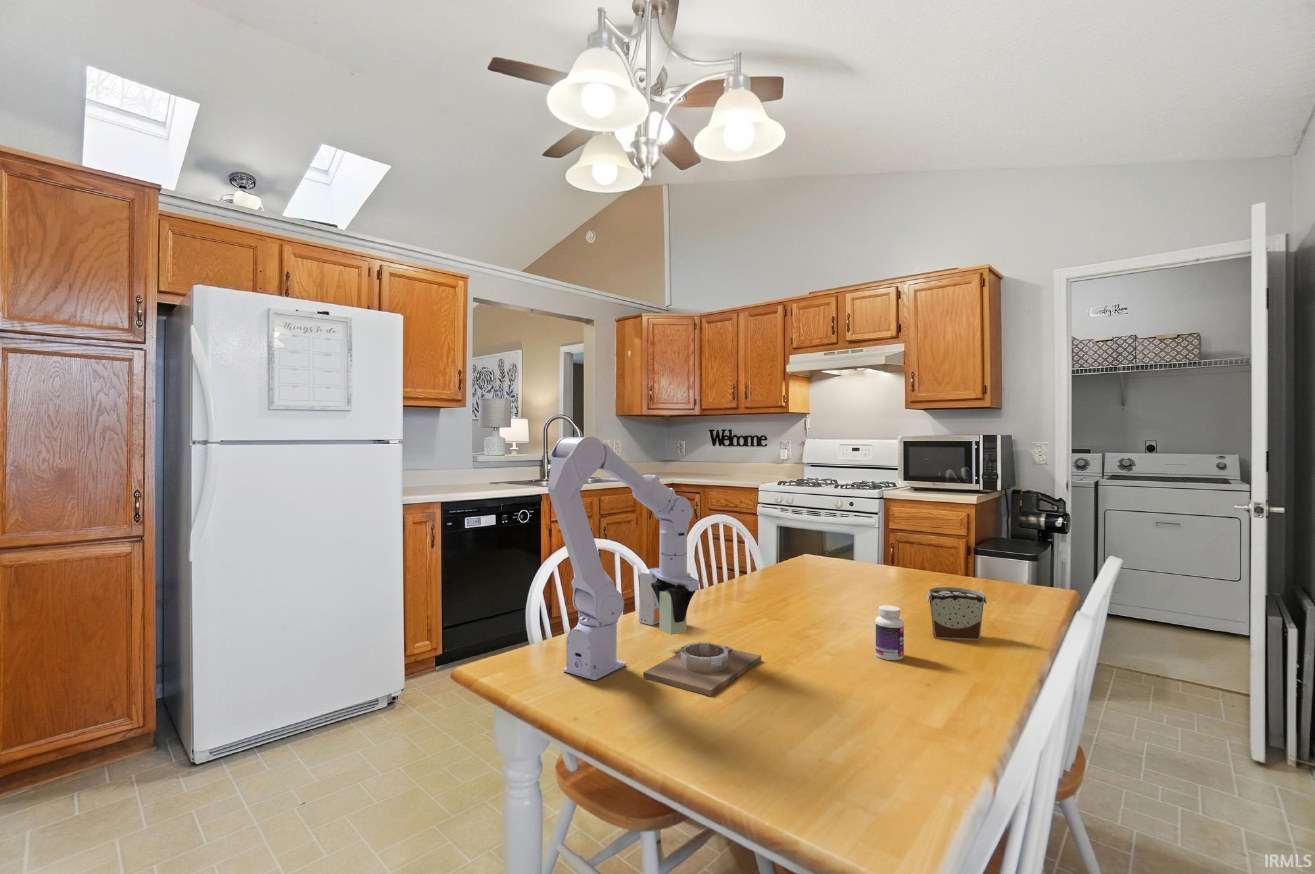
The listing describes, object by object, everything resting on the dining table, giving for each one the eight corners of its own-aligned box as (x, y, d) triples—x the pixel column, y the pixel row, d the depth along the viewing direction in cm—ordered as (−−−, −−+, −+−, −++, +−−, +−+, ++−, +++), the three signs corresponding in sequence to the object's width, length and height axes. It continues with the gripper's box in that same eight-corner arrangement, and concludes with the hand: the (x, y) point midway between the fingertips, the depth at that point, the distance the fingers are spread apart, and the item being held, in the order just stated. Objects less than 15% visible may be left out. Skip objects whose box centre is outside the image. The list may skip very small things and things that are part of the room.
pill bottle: (906, 662, 118) (906, 612, 118) (877, 660, 119) (877, 610, 119) (901, 652, 124) (901, 604, 124) (873, 650, 125) (873, 603, 125)
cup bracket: (710, 696, 102) (710, 675, 102) (643, 677, 110) (643, 658, 110) (761, 660, 119) (761, 642, 119) (699, 646, 127) (699, 629, 127)
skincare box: (652, 626, 141) (653, 574, 141) (638, 622, 143) (638, 572, 143) (668, 620, 146) (668, 570, 146) (654, 616, 148) (654, 567, 148)
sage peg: (686, 631, 125) (686, 592, 125) (670, 634, 123) (671, 595, 123) (674, 626, 129) (674, 588, 129) (659, 629, 126) (659, 591, 126)
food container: (974, 631, 138) (975, 587, 138) (986, 640, 131) (986, 594, 131) (918, 629, 139) (918, 585, 139) (927, 638, 133) (927, 592, 133)
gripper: (710, 556, 122) (710, 624, 122) (668, 546, 134) (667, 607, 134) (683, 560, 118) (682, 630, 118) (641, 549, 130) (641, 612, 130)
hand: (672, 618), depth 126 cm, fingers closed on sage peg, 4 cm apart
